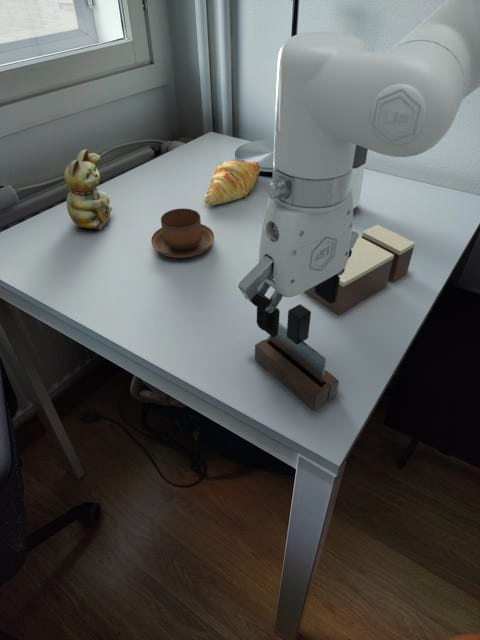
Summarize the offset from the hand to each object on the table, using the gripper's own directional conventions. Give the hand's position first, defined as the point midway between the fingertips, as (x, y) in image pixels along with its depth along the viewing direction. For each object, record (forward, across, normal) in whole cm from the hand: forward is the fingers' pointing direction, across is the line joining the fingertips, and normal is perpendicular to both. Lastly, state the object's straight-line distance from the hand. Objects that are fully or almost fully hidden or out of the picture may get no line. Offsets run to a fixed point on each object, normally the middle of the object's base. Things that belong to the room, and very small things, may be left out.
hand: (297, 313), depth 57 cm
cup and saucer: (+12, +7, +38) cm, 40 cm away
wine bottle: (+12, +41, +29) cm, 51 cm away
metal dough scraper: (+12, 0, 0) cm, 12 cm away
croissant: (+12, +29, +51) cm, 59 cm away
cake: (+12, +21, +9) cm, 25 cm away
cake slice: (+11, +30, +9) cm, 33 cm away
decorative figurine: (+12, -3, +58) cm, 59 cm away
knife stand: (+12, 0, 0) cm, 12 cm away
